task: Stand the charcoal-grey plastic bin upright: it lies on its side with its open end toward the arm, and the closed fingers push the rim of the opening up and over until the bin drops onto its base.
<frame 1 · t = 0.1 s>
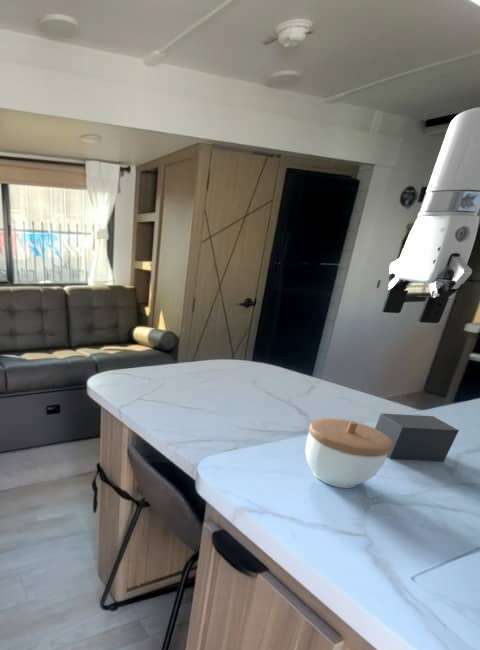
hand: (408, 317, 71), 27 cm above the table, tool pointing down, fingers open, 9 cm apart
bin: (405, 451, 85), on the table
lidded bowl: (334, 478, 74), on the table
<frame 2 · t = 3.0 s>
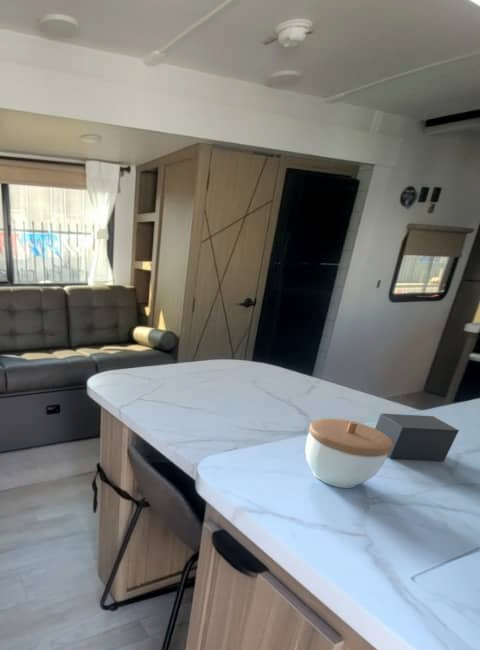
nothing on the table moved.
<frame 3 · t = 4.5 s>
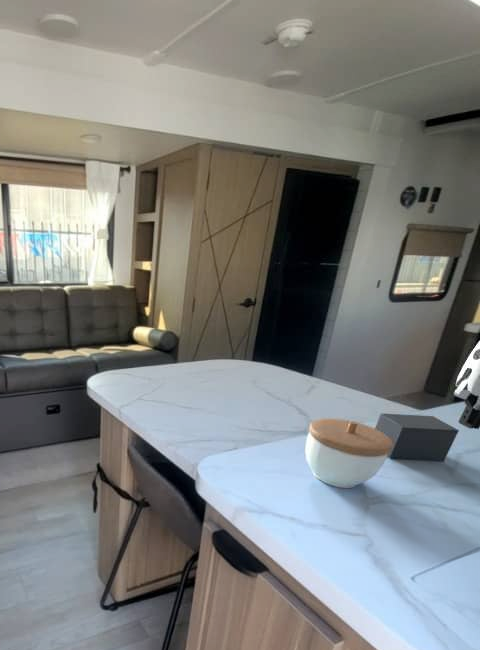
hand: (468, 425, 82), 7 cm above the table, tool pointing down, fingers closed
nothing on the table moved.
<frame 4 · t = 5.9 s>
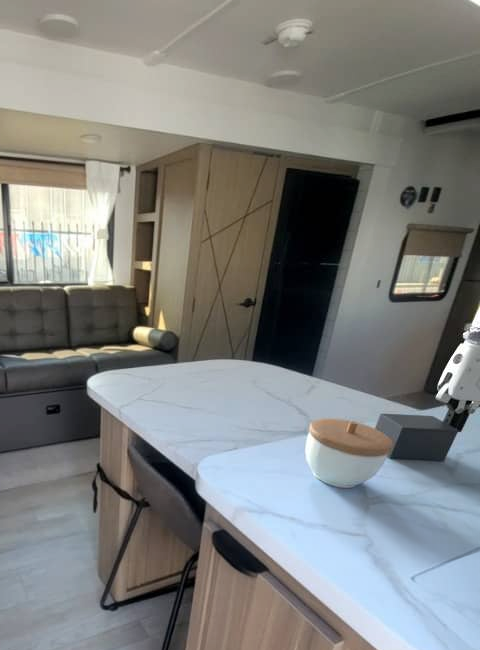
hand: (450, 428, 82), 6 cm above the table, tool pointing down, fingers closed
bin: (405, 451, 85), on the table, touching gripper
everything else where it was.
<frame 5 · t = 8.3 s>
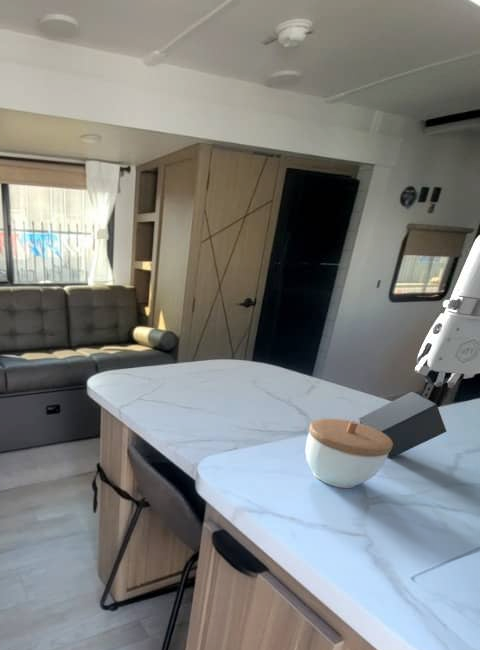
hand: (430, 403, 80), 11 cm above the table, tool pointing down, fingers closed
bin: (405, 437, 83), point 3 cm above the table, tilted 37°, touching gripper
everything else where it was.
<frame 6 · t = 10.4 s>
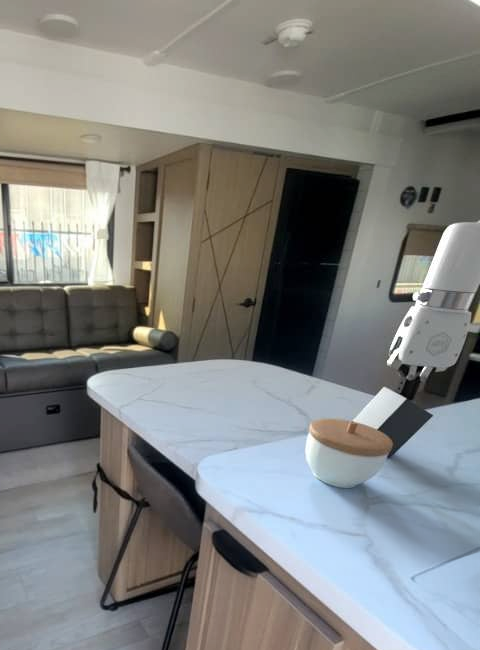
hand: (403, 397, 80), 12 cm above the table, tool pointing down, fingers closed
bin: (399, 430, 83), point 5 cm above the table, tilted 64°, touching gripper
everything else where it was.
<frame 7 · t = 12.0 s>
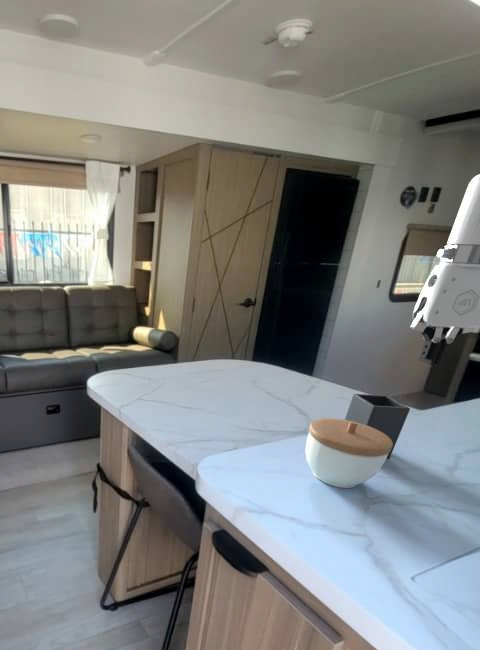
hand: (428, 362, 77), 19 cm above the table, tool pointing down, fingers closed
bin: (388, 426, 82), point 6 cm above the table, tilted 90°
everything else where it was.
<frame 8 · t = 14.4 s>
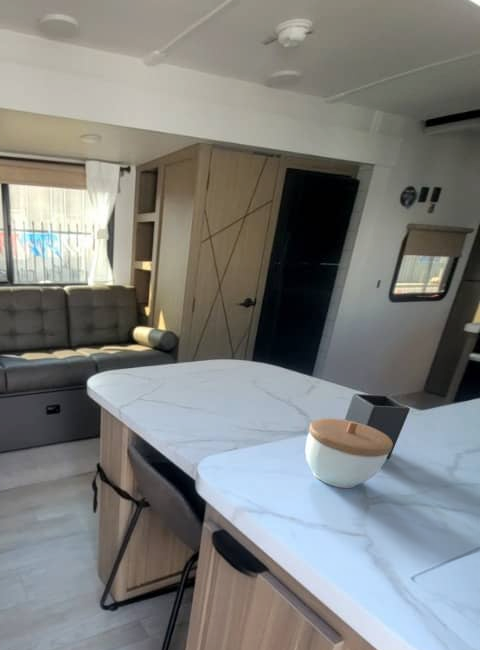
nothing on the table moved.
at the end: bin tilted 90°; bin inside the target area (0.0 cm from its centre), point 5.5 cm above the table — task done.
